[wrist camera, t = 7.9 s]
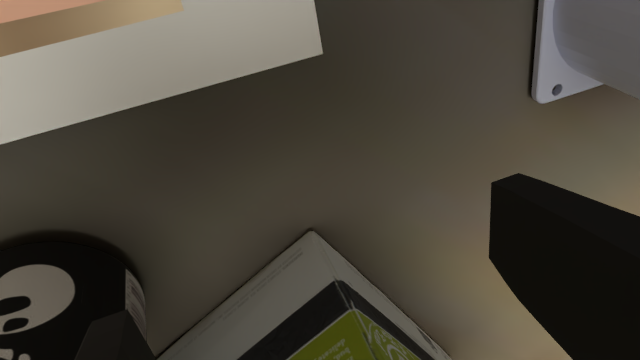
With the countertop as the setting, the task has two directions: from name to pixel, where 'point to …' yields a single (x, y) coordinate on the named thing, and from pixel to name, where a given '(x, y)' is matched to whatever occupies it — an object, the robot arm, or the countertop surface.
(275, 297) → the tea box
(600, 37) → the robot arm
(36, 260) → the beverage can
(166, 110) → the countertop surface
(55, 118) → the build plate
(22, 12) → the top brick
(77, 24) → the bottom brick
